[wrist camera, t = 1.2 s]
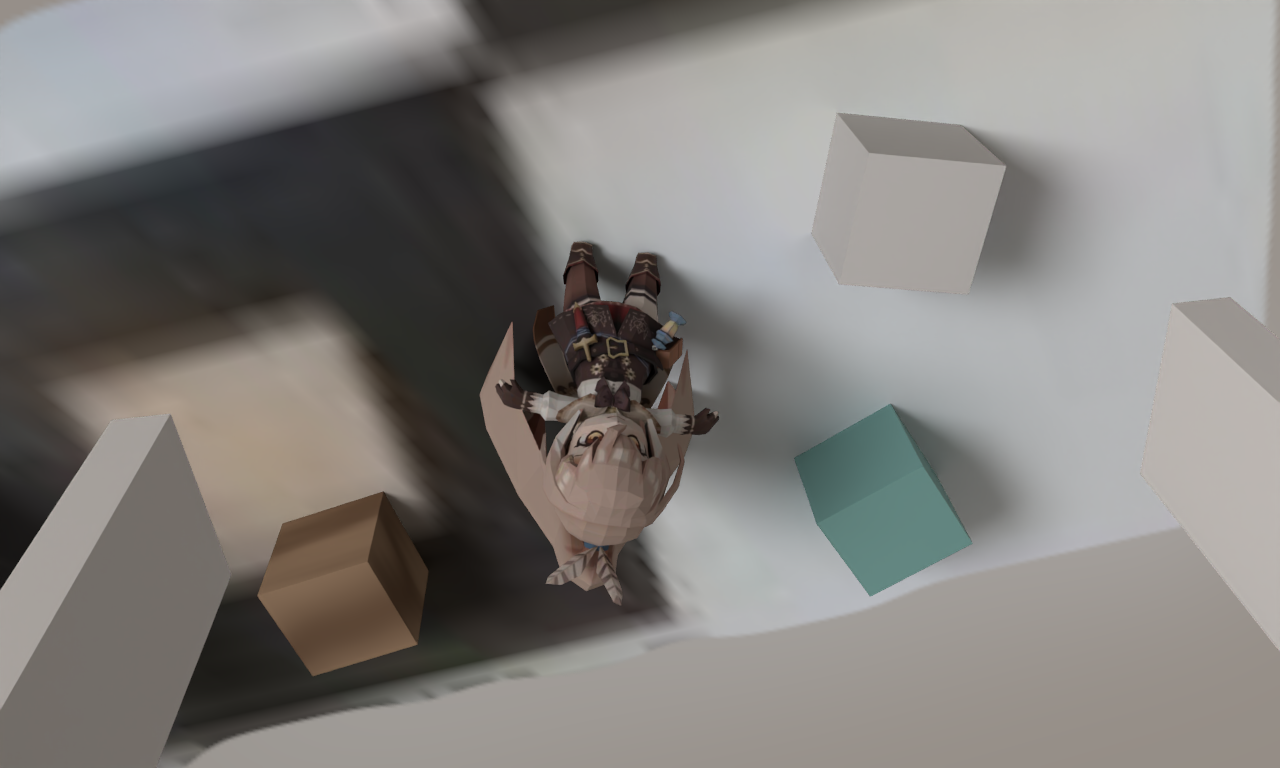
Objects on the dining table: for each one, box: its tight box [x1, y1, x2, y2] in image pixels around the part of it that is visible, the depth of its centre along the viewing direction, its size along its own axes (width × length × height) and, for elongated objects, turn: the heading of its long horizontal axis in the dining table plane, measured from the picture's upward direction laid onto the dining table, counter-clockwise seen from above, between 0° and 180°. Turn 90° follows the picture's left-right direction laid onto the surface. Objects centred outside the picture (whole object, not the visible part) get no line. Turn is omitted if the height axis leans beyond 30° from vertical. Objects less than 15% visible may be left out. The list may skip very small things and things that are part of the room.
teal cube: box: [794, 404, 973, 597], centre depth 48 cm, size 5×5×5 cm
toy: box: [480, 241, 719, 605], centre depth 40 cm, size 9×8×15 cm
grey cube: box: [811, 113, 1006, 295], centre depth 41 cm, size 5×5×5 cm
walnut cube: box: [257, 492, 429, 676], centre depth 48 cm, size 5×5×5 cm
